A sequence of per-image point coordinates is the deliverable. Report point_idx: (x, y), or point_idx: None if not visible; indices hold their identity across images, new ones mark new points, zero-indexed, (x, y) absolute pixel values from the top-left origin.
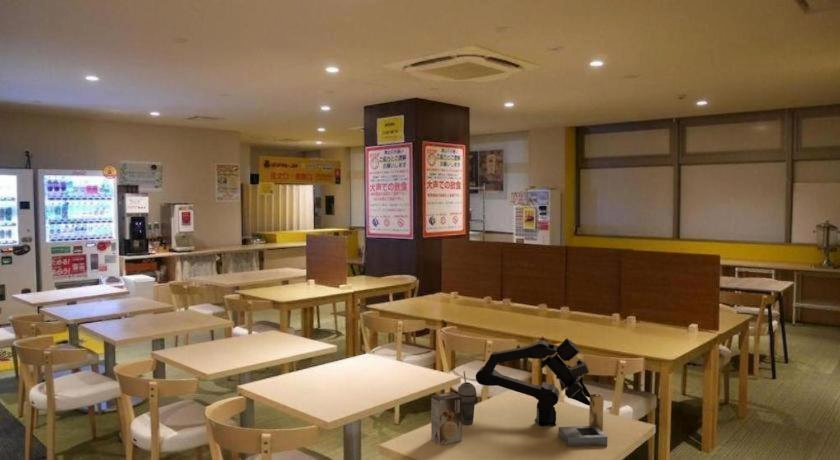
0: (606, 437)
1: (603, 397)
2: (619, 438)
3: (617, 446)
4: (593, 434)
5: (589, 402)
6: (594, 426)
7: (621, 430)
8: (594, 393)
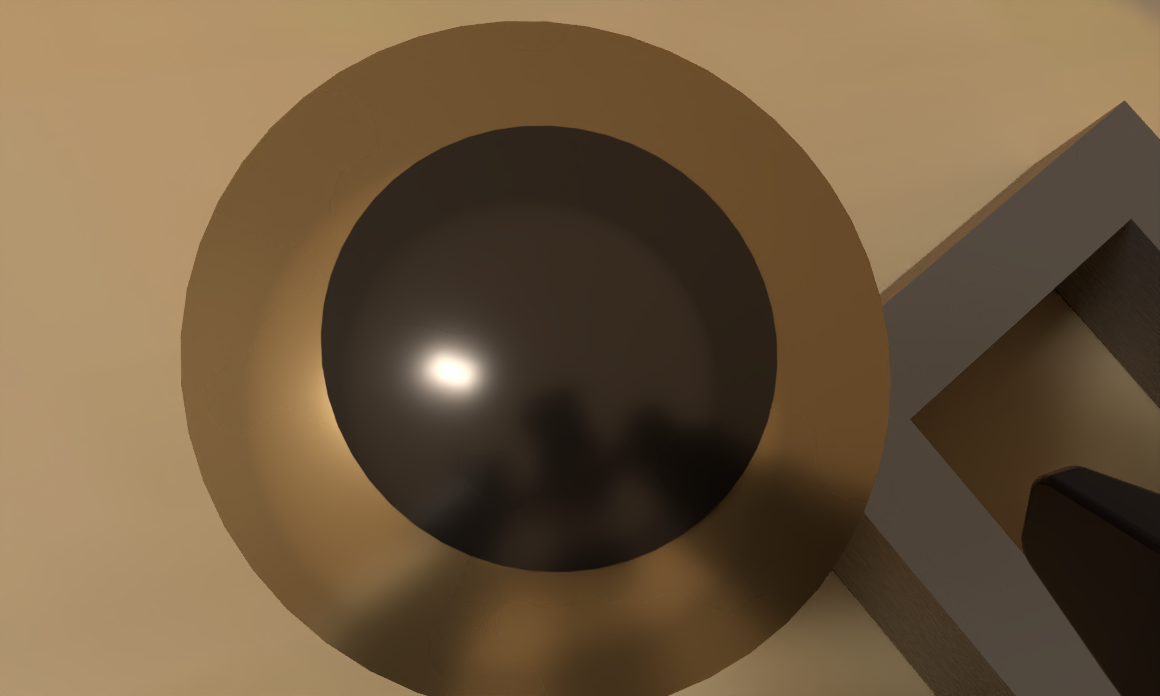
0: (1125, 120)
1: (518, 49)
2: None
3: (977, 35)
4: None
5: (1148, 494)
6: None
7: (299, 88)
8: (307, 522)
